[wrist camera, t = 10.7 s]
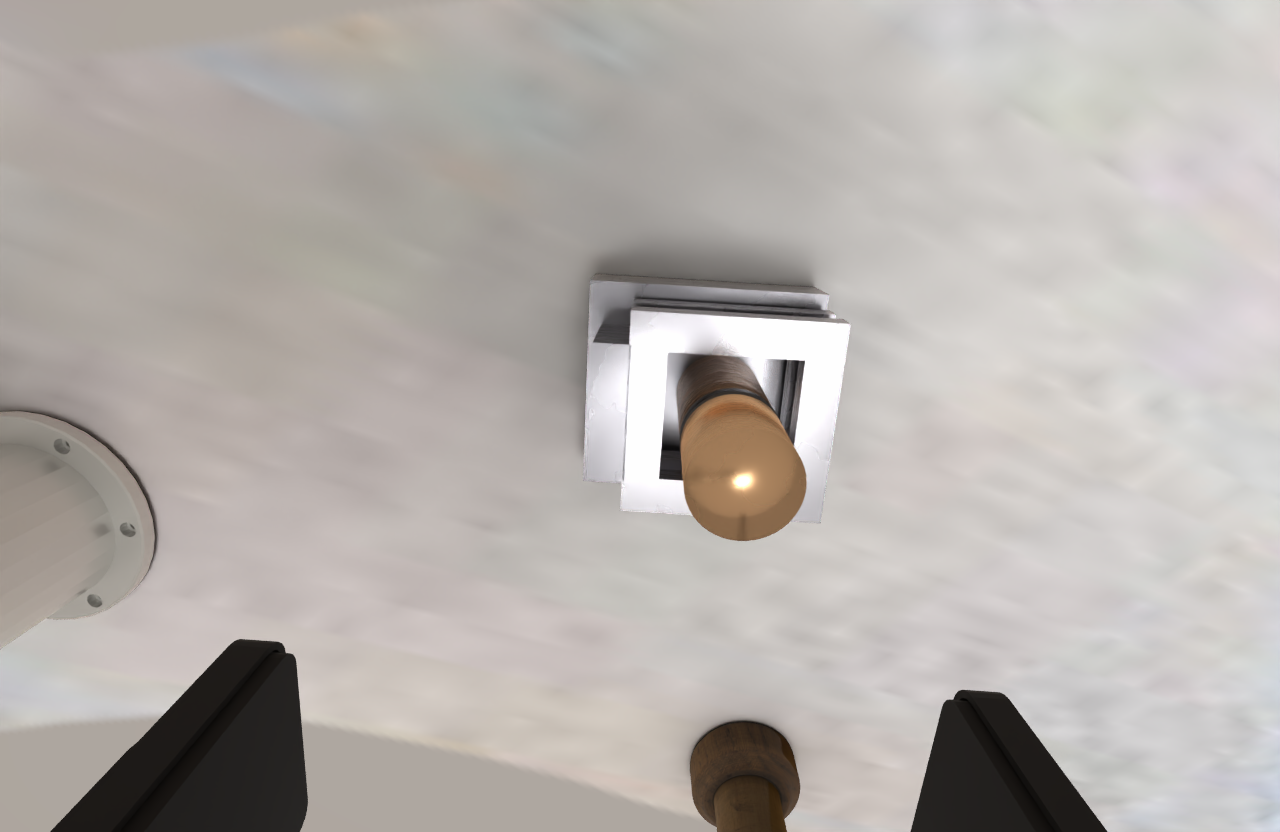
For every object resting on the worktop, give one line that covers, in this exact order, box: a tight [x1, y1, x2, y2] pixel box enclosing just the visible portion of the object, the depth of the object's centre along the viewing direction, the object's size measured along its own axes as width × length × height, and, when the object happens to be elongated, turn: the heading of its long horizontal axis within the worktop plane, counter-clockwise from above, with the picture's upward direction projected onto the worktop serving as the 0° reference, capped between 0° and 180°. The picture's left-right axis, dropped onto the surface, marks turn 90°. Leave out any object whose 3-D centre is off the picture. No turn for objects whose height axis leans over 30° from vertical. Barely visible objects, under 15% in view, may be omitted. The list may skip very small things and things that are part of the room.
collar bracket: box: [583, 274, 851, 523], centre depth 32 cm, size 11×10×7 cm
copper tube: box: [676, 355, 807, 541], centre depth 27 cm, size 4×4×11 cm
